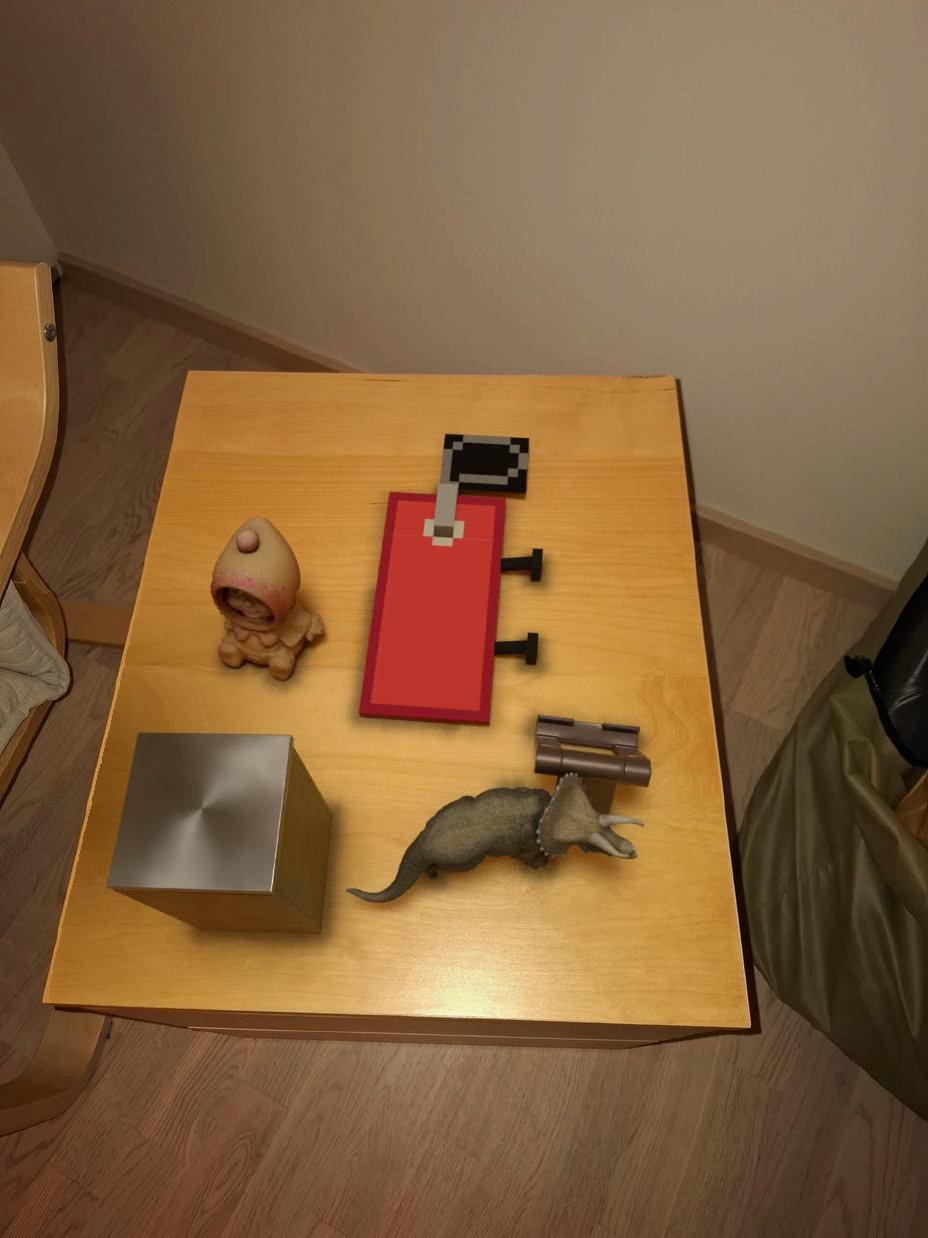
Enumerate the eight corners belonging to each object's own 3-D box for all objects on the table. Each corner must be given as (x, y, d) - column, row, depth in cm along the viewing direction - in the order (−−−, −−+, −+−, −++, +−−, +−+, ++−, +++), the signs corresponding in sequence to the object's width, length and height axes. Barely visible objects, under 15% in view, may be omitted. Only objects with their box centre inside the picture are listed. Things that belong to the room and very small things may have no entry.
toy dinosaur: (352, 913, 71) (333, 890, 61) (346, 807, 75) (327, 770, 65) (626, 881, 72) (651, 854, 62) (607, 779, 76) (628, 737, 66)
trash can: (332, 813, 74) (290, 740, 57) (320, 934, 70) (271, 895, 53) (218, 809, 75) (142, 735, 57) (200, 930, 71) (111, 890, 53)
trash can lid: (294, 738, 56) (291, 734, 56) (275, 894, 52) (272, 892, 52) (142, 735, 57) (137, 731, 56) (111, 889, 53) (106, 887, 52)
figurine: (202, 668, 80) (168, 553, 69) (233, 605, 85) (206, 488, 73) (309, 690, 79) (292, 578, 68) (335, 626, 84) (323, 511, 72)
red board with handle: (547, 444, 90) (399, 436, 91) (549, 427, 88) (397, 419, 88) (532, 730, 78) (360, 718, 78) (533, 719, 75) (356, 707, 76)
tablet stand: (638, 733, 77) (656, 699, 70) (633, 824, 74) (652, 798, 66) (536, 721, 78) (543, 685, 70) (527, 810, 75) (533, 783, 67)
